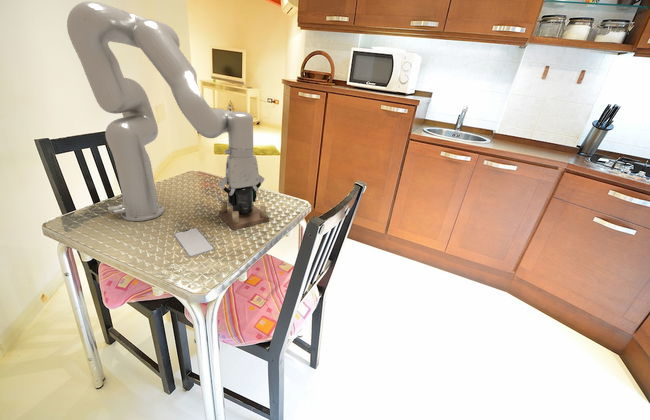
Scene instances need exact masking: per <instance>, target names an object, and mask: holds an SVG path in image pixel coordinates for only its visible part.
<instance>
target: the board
mask: <svg viewBox="0 0 650 420" xmlns="http://www.w3.org/2000/svg"><path fill="white" fill-rule="evenodd" d="M227 202H228V200H226V199H222V201H220V209H221V210H218V216H219V217H221V218H222V219H223V221H224V222H225V224H227V225H228V226H229V227H230V228H231V229H232V230H233V231H236V230H240V229H244V228H248V227H251V226H256V225H260V224H263V223H268V222H270V217H269V216H268V215H267V205H264V204H262V205H260V207H259V208H258V207H257V206H256V205H254V204H253V211H252V212H251V213H249V214H245V215H240V214H239V212H238V211H233V208H231V207H230V208H228V204H227Z"/></svg>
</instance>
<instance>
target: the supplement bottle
mask: <svg viewBox="0 0 650 420" xmlns="http://www.w3.org/2000/svg"><path fill="white" fill-rule="evenodd" d="M233 195H235V206H233V211H238V212H239V214H240V215H245V214H249V213H251V212H252V211H253V205H254V202H253V188H252V186H250V187H244V188H237V189H235V191H234V193H233Z"/></svg>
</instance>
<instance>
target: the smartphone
mask: <svg viewBox="0 0 650 420" xmlns="http://www.w3.org/2000/svg"><path fill="white" fill-rule="evenodd" d="M173 237H174V238H175V240H176V242H177V243H178V244H179V245H180V247H181V248H182V249H183V251H184V252H185V254H186V255H187V256H188V257H189V258H193V257H197V256H200V255H203V254H207V253H209V252H212V251H215V247H214V246H213V245H212V243H211V242H210V241H209V240H208V238H207V237H206V236H205V235H204V234H203V233H202V232H201V230H200V229H199V227H193V228H189V229H185V230H182V231H177V232H174V233H173Z"/></svg>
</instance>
